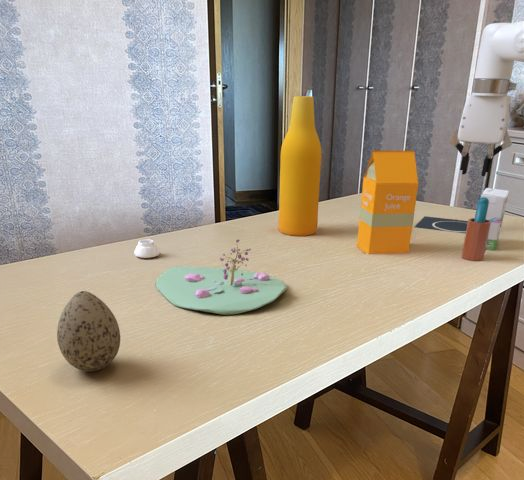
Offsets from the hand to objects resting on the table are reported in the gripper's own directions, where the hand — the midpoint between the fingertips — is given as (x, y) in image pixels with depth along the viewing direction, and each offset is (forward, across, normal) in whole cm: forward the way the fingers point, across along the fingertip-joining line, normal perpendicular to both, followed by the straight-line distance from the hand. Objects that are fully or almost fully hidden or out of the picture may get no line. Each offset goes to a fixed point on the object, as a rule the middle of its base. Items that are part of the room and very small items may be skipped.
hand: (473, 173), depth 126 cm
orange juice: (+13, +13, +30) cm, 35 cm away
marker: (+12, -5, +28) cm, 31 cm away
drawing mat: (+13, +2, +2) cm, 13 cm away
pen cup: (+13, -5, +28) cm, 31 cm away
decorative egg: (+13, +31, +98) cm, 103 cm away
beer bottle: (+13, +35, +24) cm, 44 cm away
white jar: (+13, +54, +57) cm, 79 cm away
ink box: (+13, -6, +16) cm, 21 cm away
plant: (+13, +32, +67) cm, 75 cm away
